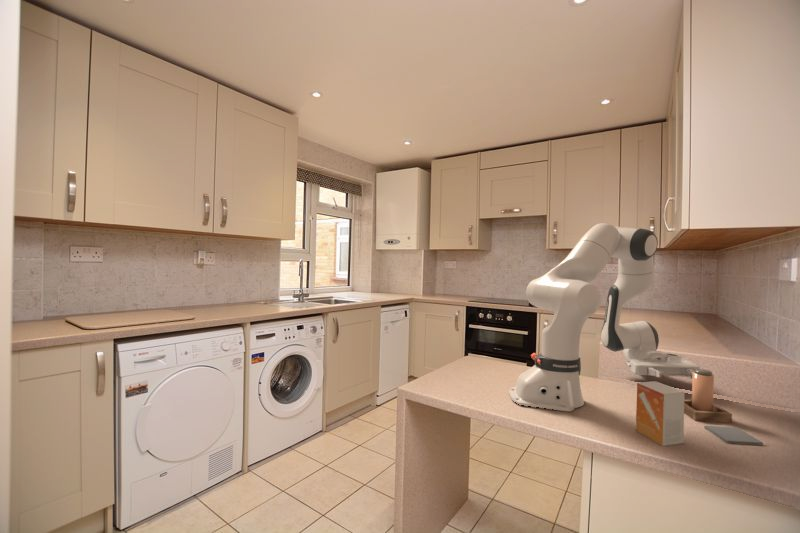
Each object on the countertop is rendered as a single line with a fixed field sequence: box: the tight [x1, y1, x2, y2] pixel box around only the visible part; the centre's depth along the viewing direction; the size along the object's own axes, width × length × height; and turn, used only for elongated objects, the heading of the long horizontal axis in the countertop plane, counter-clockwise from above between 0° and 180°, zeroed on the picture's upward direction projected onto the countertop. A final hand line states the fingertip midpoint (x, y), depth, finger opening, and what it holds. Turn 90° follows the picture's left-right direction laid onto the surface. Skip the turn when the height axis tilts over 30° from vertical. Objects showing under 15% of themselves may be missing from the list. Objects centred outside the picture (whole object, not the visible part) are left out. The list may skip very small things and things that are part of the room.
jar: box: [691, 368, 715, 412], centre depth 107 cm, size 5×5×13 cm
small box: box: [635, 380, 686, 447], centre depth 93 cm, size 8×6×13 cm
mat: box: [704, 425, 764, 446], centre depth 94 cm, size 8×8×1 cm
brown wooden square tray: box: [684, 399, 733, 423], centre depth 107 cm, size 9×9×2 cm
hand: (677, 375), depth 119 cm, fingers open, 8 cm apart
